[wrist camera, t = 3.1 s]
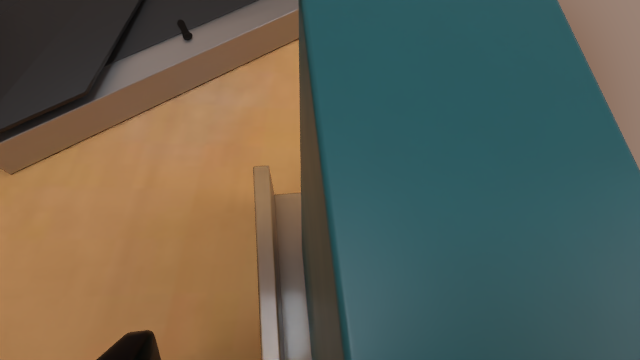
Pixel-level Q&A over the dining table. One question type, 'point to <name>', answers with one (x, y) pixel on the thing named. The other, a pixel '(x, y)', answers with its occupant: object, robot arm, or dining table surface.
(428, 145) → the teal rectangular block
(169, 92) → the picture frame
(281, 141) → the dining table surface
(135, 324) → the dining table surface
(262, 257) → the stand
